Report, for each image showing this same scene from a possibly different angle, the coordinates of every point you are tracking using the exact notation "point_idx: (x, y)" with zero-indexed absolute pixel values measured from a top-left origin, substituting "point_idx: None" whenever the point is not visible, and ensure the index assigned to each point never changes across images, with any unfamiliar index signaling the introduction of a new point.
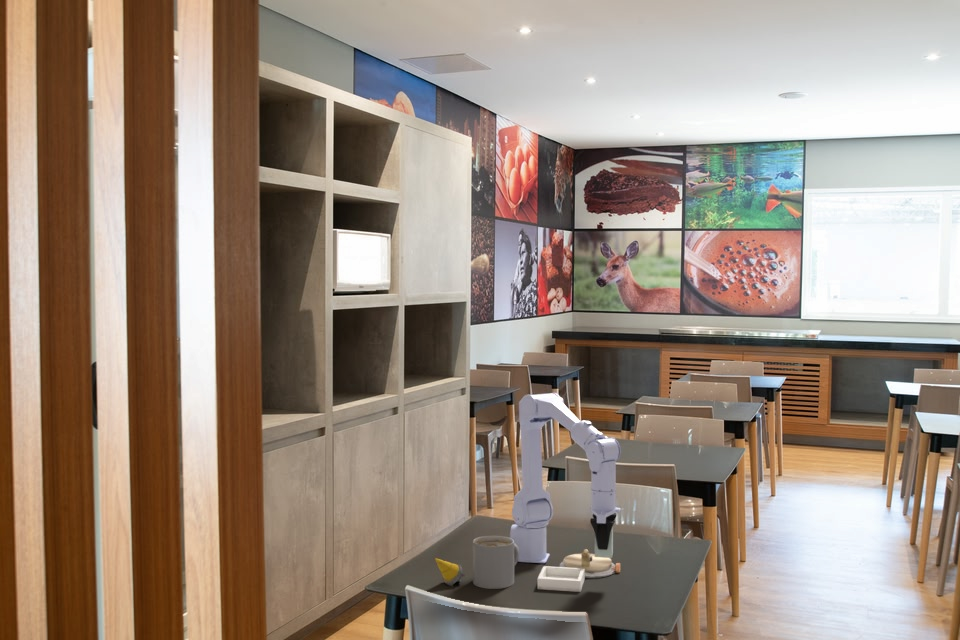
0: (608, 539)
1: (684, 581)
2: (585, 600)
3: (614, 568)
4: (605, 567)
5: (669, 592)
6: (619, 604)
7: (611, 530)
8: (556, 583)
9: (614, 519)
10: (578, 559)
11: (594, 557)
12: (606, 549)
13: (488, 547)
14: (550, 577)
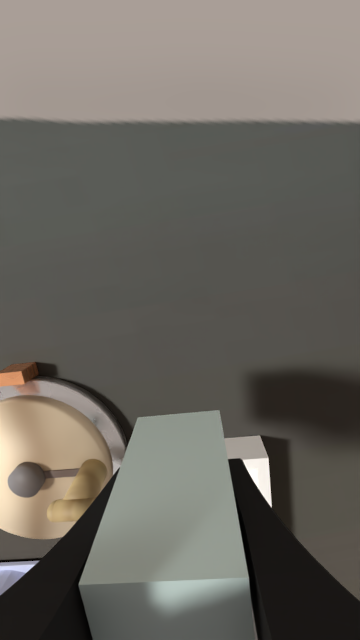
0: (267, 504)
1: (35, 130)
2: (332, 409)
3: (33, 382)
4: (65, 410)
5: (180, 167)
6: (348, 310)
7: (242, 553)
8: None
9: (43, 634)
10: (36, 500)
11: None
12: (242, 462)
13: None
14: None
